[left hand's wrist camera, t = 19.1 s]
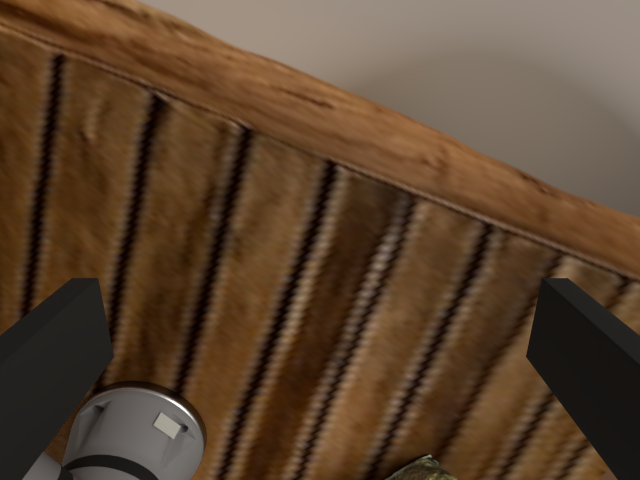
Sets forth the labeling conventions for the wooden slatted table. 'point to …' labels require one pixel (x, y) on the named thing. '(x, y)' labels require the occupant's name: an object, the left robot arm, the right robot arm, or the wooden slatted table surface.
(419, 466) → the fossil
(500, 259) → the wooden slatted table surface
